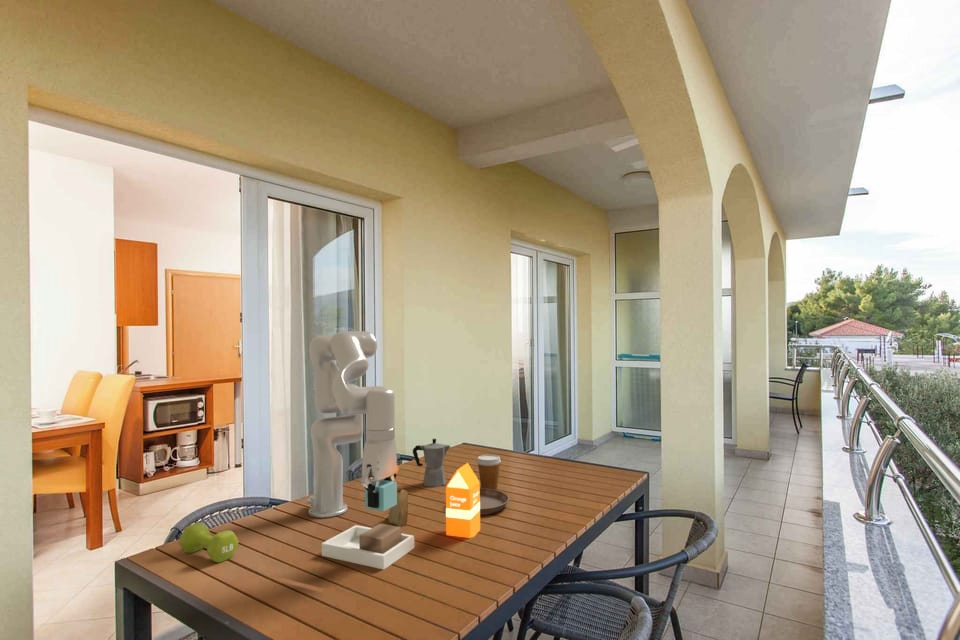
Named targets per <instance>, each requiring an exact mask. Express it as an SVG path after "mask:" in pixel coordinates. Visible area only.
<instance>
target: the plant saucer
mask: <svg viewBox="0 0 960 640" xmlns="http://www.w3.org/2000/svg"><path fill="white" fill-rule="evenodd" d="M509 501H510V497H509V496H508V494H507V493H505V492H503V491H499V490H498V489H496V490H492V489H481V488H480V516H481V515H490V514H494V513H497V512H499V511H501V510H502V509H503V508H504V507H506V505H507V503H508V502H509Z"/></svg>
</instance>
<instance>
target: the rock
mask: <svg viewBox="0 0 960 640" xmlns="http://www.w3.org/2000/svg"><path fill="white" fill-rule="evenodd" d="M389 509H390V510H389V512H388V516H387V520H388V523H391V524H395V525H396V526H397V527H401V528H402V527H407V525H408V524H407V523H408V514H409V510H408V509H409V493H408V491H407V490H405V489H404V488H402V489H401V490H400V492H399V493H398V494H397V505H395V506H393V507H391V508H389Z"/></svg>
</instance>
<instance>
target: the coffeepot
mask: <svg viewBox="0 0 960 640" xmlns="http://www.w3.org/2000/svg"><path fill="white" fill-rule="evenodd" d="M450 448H451V446H450V445H449V444H443V443H438V442H437V438H432V442H431V443H429V444H425V445H424V444H423V445H421V444H419V445H415V446H414V448H413V449H412V455H413V457H414V460H415V463H416V466H418V467H423V465H424V464H423V463H421V462H420V458H419V456H418V451H423V458H424V463H425V464H426V465H425V466H426V467H425V468H424V469H425V470H424V477H423V480H422V481H423V483H422V484H423V485H424V486H425V487H432V488H434V487H435V488H436V487H443V486H444V485H446V482H447V480H446V475H445V469H444V465H443V464H444V461H445V456H446V455H447V452H448V450H449V449H450Z"/></svg>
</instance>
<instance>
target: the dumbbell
mask: <svg viewBox="0 0 960 640" xmlns="http://www.w3.org/2000/svg"><path fill="white" fill-rule="evenodd" d="M178 544H179V546H180V547H181V550H182V551H183V552H184V553H187V554H192V553H195V551H196V552H199V551H201V550H203V549H204V548H206V551H207V554H208V556H209V557H210V559H211V560H212V561H213V562H215V563H222V562H225V561H227V560H230V559H231V558H232V557H233V556H234V555H235V553H236V551H237V548H238V546H239V539H238V537H237V535H236V534H235V532H233V531H232V530H228V529H226V530H223V531H221V532H218V533H216V534H214V535H213V536H212V535H211V532H210V530H209V528H208V527H207V526H206V524H204V523H203V522H195V523H193V524H189V525H188V526H186V527H185V528H184V530H183V531H182V532H181V535H180V537H179V539H178ZM198 550H199V551H198Z"/></svg>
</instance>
